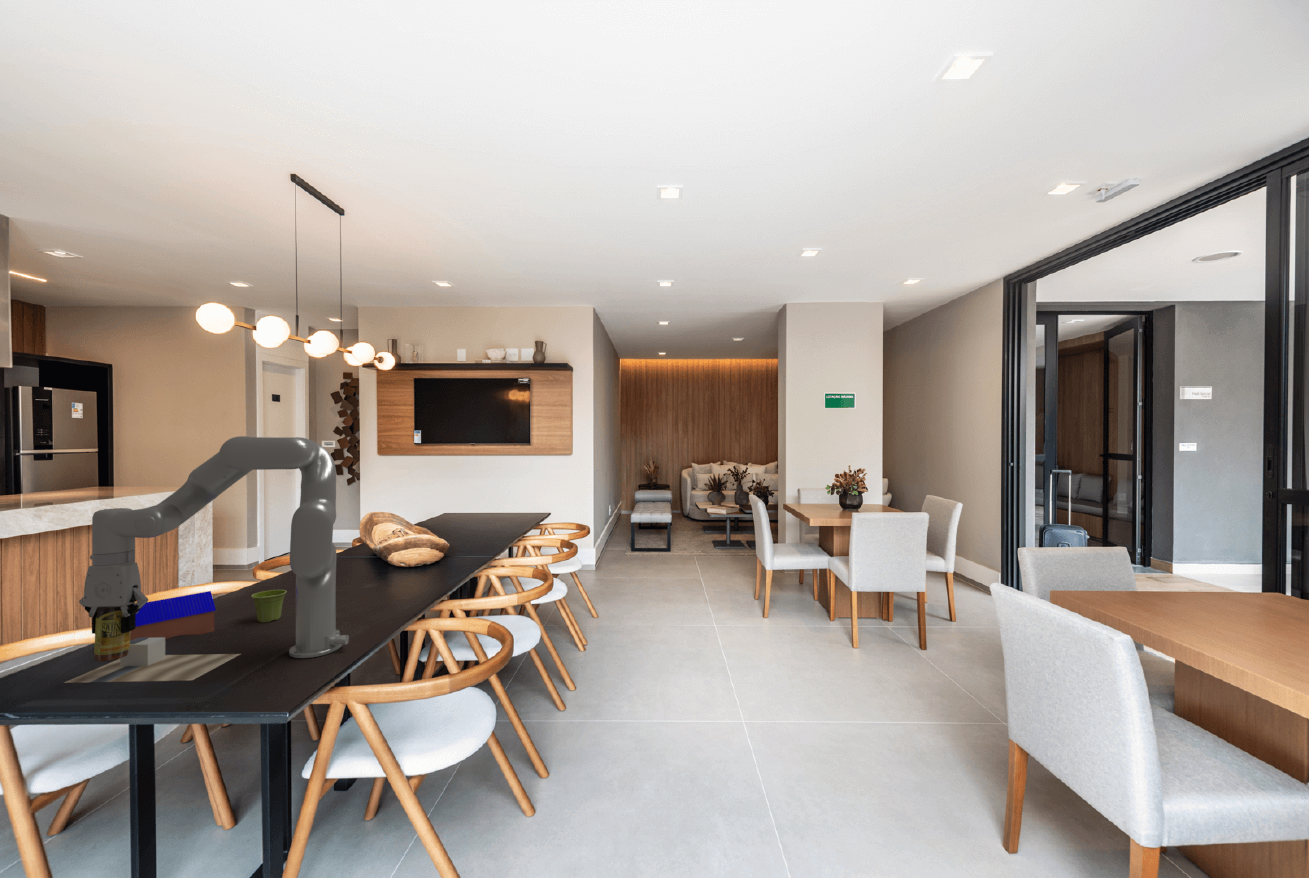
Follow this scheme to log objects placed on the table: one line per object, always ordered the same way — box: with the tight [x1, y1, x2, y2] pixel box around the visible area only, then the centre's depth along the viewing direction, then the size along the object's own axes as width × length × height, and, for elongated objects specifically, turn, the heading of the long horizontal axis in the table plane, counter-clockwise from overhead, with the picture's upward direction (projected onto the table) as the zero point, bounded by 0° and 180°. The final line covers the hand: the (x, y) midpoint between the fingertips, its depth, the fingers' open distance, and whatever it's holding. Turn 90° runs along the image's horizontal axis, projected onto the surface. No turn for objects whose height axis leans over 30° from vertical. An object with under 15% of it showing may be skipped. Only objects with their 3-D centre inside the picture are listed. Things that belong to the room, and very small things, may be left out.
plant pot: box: [251, 589, 288, 623], centre depth 177 cm, size 9×9×9 cm
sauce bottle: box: [93, 605, 131, 663], centre depth 133 cm, size 6×6×20 cm
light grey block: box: [119, 637, 166, 666], centre depth 140 cm, size 7×5×6 cm
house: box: [130, 590, 217, 641], centre depth 162 cm, size 12×20×12 cm, turn 142°
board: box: [63, 653, 241, 684], centre depth 137 cm, size 30×16×1 cm, turn 92°
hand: (113, 630), depth 133 cm, fingers closed on sauce bottle, 6 cm apart
